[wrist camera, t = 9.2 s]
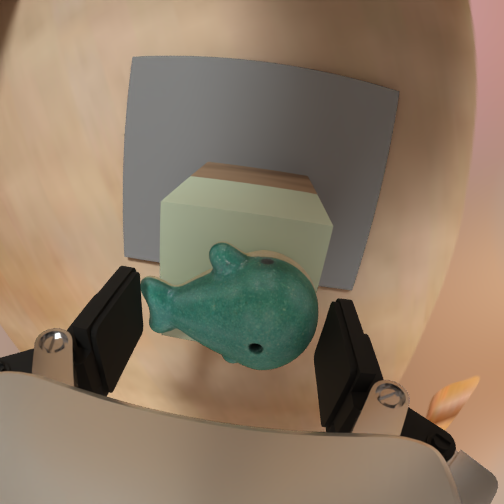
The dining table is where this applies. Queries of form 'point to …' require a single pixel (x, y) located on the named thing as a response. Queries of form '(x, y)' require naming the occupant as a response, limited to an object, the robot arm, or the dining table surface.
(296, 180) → the bottom block
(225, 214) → the top block
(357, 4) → the dining table surface
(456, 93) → the dining table surface
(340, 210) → the mat
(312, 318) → the whale figurine
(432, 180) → the dining table surface
